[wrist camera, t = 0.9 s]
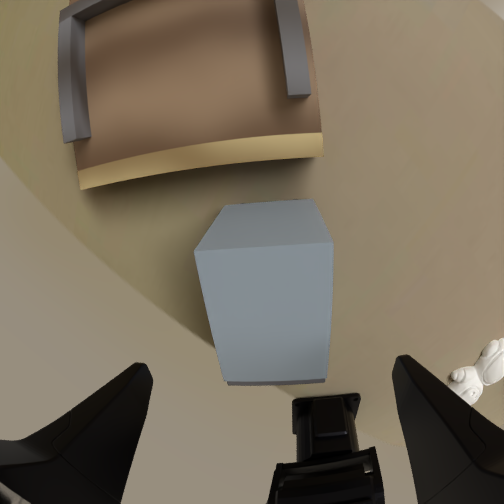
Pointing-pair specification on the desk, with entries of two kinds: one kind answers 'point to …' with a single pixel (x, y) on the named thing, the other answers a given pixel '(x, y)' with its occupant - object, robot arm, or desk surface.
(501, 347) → the astronaut figurine
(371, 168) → the desk surface
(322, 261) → the pale blue box
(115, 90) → the dock
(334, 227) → the desk surface
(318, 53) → the desk surface
